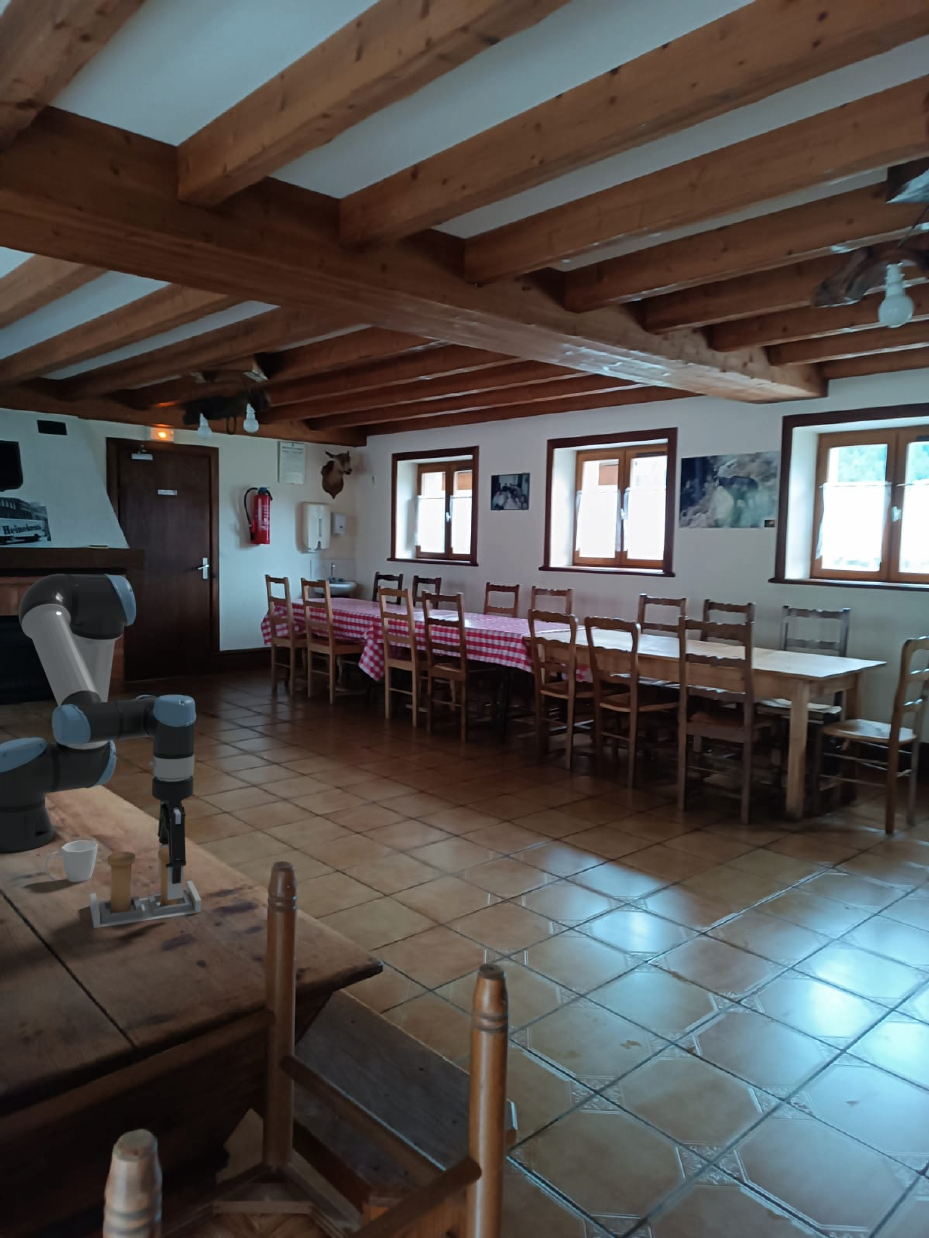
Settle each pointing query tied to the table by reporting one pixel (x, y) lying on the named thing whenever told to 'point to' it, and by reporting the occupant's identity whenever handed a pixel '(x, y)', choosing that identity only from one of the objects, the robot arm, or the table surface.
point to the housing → (144, 908)
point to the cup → (77, 860)
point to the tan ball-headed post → (165, 878)
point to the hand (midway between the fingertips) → (170, 886)
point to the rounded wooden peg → (120, 881)
